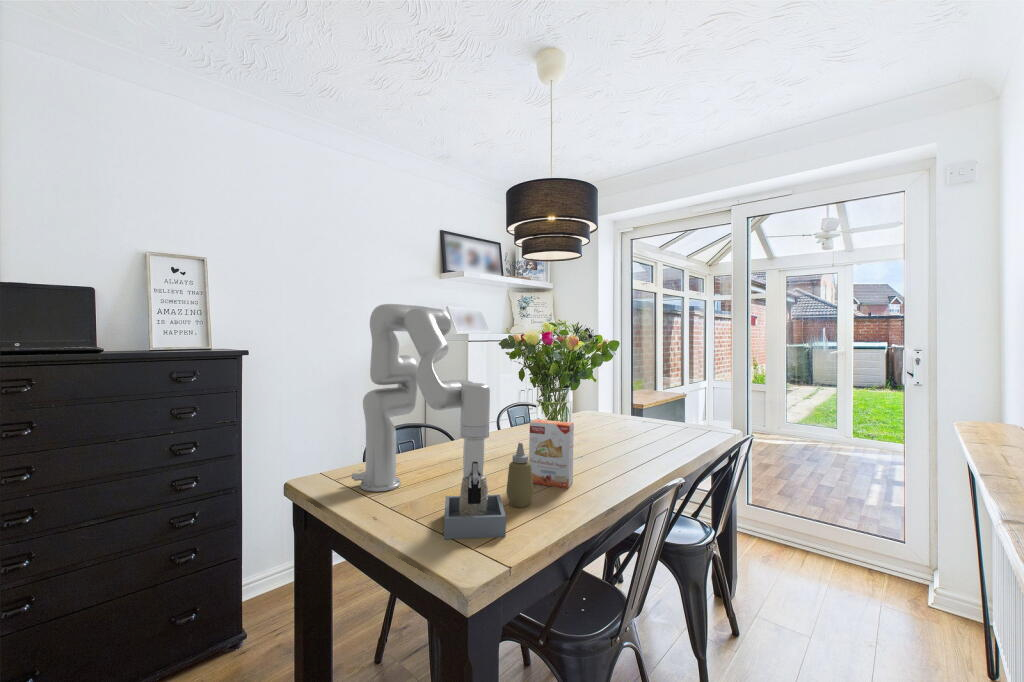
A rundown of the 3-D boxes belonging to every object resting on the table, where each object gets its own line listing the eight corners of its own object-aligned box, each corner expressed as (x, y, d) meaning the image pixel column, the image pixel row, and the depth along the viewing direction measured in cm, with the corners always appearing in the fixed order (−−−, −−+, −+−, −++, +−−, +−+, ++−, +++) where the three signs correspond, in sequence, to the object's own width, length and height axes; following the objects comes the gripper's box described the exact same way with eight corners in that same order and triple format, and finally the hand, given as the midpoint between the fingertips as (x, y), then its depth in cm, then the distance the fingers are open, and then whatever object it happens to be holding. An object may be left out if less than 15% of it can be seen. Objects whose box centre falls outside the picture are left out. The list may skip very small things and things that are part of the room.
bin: (444, 539, 107) (444, 518, 107) (445, 514, 122) (445, 496, 122) (505, 536, 109) (505, 516, 109) (499, 512, 124) (499, 494, 124)
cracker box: (528, 483, 149) (528, 421, 148) (533, 478, 154) (534, 418, 154) (568, 489, 143) (569, 425, 143) (573, 483, 149) (574, 421, 149)
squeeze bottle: (524, 511, 125) (525, 448, 124) (500, 505, 129) (501, 444, 129) (538, 502, 131) (539, 442, 131) (515, 497, 136) (515, 438, 136)
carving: (484, 526, 112) (484, 479, 112) (455, 524, 113) (456, 477, 113) (490, 516, 118) (490, 472, 118) (463, 514, 120) (463, 470, 120)
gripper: (459, 424, 123) (458, 485, 124) (460, 439, 106) (459, 509, 107) (486, 423, 124) (485, 484, 125) (491, 438, 107) (490, 508, 108)
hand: (473, 496), depth 116 cm, fingers open, 9 cm apart
